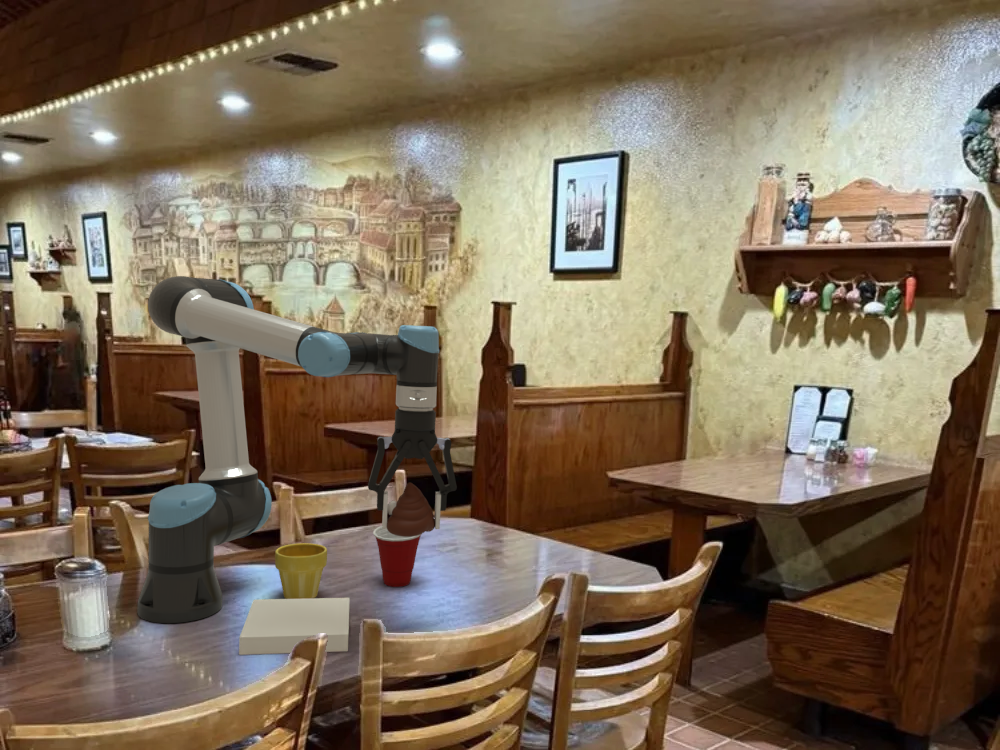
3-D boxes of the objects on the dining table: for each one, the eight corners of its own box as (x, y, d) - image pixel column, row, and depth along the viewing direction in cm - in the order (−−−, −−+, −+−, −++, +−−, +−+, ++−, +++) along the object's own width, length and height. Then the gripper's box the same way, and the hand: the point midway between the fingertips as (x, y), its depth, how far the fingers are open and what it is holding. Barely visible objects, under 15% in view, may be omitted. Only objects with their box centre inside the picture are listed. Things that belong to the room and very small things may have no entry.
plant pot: (272, 589, 162) (273, 543, 161) (322, 585, 165) (323, 541, 165) (276, 607, 152) (277, 558, 152) (329, 602, 156) (330, 555, 155)
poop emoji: (411, 540, 138) (414, 489, 138) (375, 531, 143) (377, 482, 142) (444, 529, 147) (446, 481, 146) (408, 521, 151) (411, 474, 151)
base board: (239, 654, 130) (239, 637, 130) (253, 614, 148) (253, 599, 147) (347, 651, 133) (348, 634, 133) (349, 612, 151) (349, 597, 151)
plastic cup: (361, 585, 167) (362, 530, 166) (390, 572, 177) (392, 520, 176) (402, 594, 162) (404, 538, 161) (430, 581, 172) (432, 528, 171)
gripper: (356, 409, 138) (351, 532, 139) (476, 412, 142) (471, 532, 143) (356, 404, 145) (351, 522, 147) (470, 407, 149) (465, 522, 151)
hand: (410, 527), depth 145 cm, fingers closed on poop emoji, 9 cm apart
